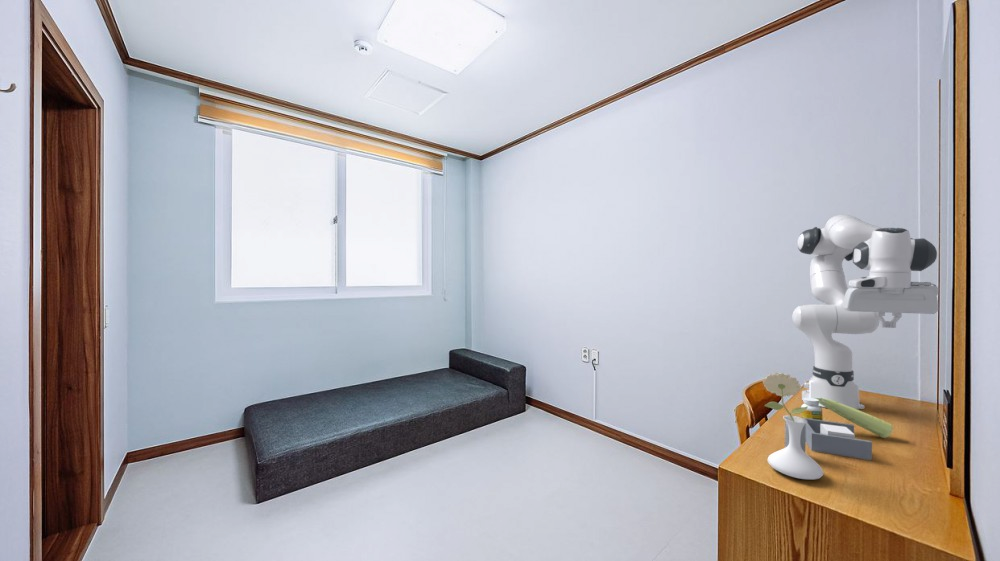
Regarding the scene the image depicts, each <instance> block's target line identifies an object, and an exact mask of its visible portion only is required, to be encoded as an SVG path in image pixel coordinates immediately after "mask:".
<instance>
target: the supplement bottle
mask: <svg viewBox="0 0 1000 561" xmlns="http://www.w3.org/2000/svg"><path fill="white" fill-rule="evenodd" d="M802 402H803V404H802V405H801V406H800V408H802V407H807V406H808V407H807V409H806V410H805V411H804V412H802V413H801V417H802V418H809V419H816V420H824V419H823V407H822V406H819V400H818V399H815V398H808V397H807V398H803V401H802Z"/></svg>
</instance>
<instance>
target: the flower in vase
mask: <svg viewBox="0 0 1000 561" xmlns="http://www.w3.org/2000/svg"><path fill="white" fill-rule="evenodd" d="M799 382H800V381H799V380H797V378H796V377H792V376H791V374H785V373H784V372H780V373H778V372H774V373H773V374H771V373H769V374H768V375H766V377H765V378H764V380H762V383H763V384H762V385H763V387H764V388H766V391H768V392H770V393H771V394H775V395H776V396H779V397H781V403H782V404H781V403H778V402H777V401H769V402H768V403H765V404H764V407H766V408H769V409H770V408H771V409H773V410H776V411H780V410H781V409H783V408H784V410H785V411H786V413H788V415H783V416H782V418H783V420H784V422H785V421H786V423H787V425H788V429H789V445H788V446H787V447H786V448H785V447H784V448H781V449H779V450H777V451H774V452H772V453H771V454H770V455H768V458H767V463H768V464H769V466H770V467H771V468H773V469H774V470H776V471H777V472H780V473H781V474H783V475H786V476H789V477H792V478H795V479H799V480H800V479H801V480H818V479H821V478H822V477H823V476H824V471H823V468H822V467H821V466H820V465H819V463H818V462H817V461H816V460H815V459H814V458H812V457H810V455H809V454H807V453H806V451H805V452H804V451H803V450H802V448H801V445H800V437H801V431H802V428H803V426H804V425H805V424H806V423H807V422H808V421H807V420H806V419H804V418H801V417H802V416H796V415H799V414H802V412H804V411H805V410H806V409H807V407H808V406H807V407H802V408H801V407H794V408H793V409H792V410H791V411H789V410H788V409H787V407H786V406H785V402H784V397H786V396H787V397H791V396H796V395H797V393H799V392H800V391H801V390H802V388H801V385H800V383H799Z"/></svg>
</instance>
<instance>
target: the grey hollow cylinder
mask: <svg viewBox="0 0 1000 561" xmlns="http://www.w3.org/2000/svg"><path fill="white" fill-rule="evenodd" d="M806 444H807V443H806V424H805V425H804V426H803V428H802V431H801V437H800V445H801V448H802V450H803V451H804V452H805V453H806ZM788 445H789V429H788V425H787V423H786V421H785V420H784V448H786V447H787V446H788Z"/></svg>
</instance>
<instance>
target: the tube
mask: <svg viewBox="0 0 1000 561" xmlns="http://www.w3.org/2000/svg"><path fill="white" fill-rule="evenodd" d="M811 398H815V399H818V400H819V403H820V404H821V405H823V406H825V407H824V408H826V409H827V410H830V411H832V412H833V413H834V414H836V415H838V416H840V417H842V418H843V419H845V420H847V421H849V422H850V423H853V425H856V426H859V427H860V428H862V429H864V430H866V431H869V432H871V433H872V434H874V435H877V436H878V437H881V439H882V438H883V439H887V438H888V437H889V436H890V435H892V432H893V430H894V428H893V427H894V426H893V424H891V423H890V422H887V421H885V420H882V419H880V418H878V417H876V416H874V415H871V414H868V413H867V412H864V411H862V410H860V409H854V408H852V407H849V406H846V405H844V404H841V403H838V402H835V401H832V400H829V399H823V398H816V397H811Z"/></svg>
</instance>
